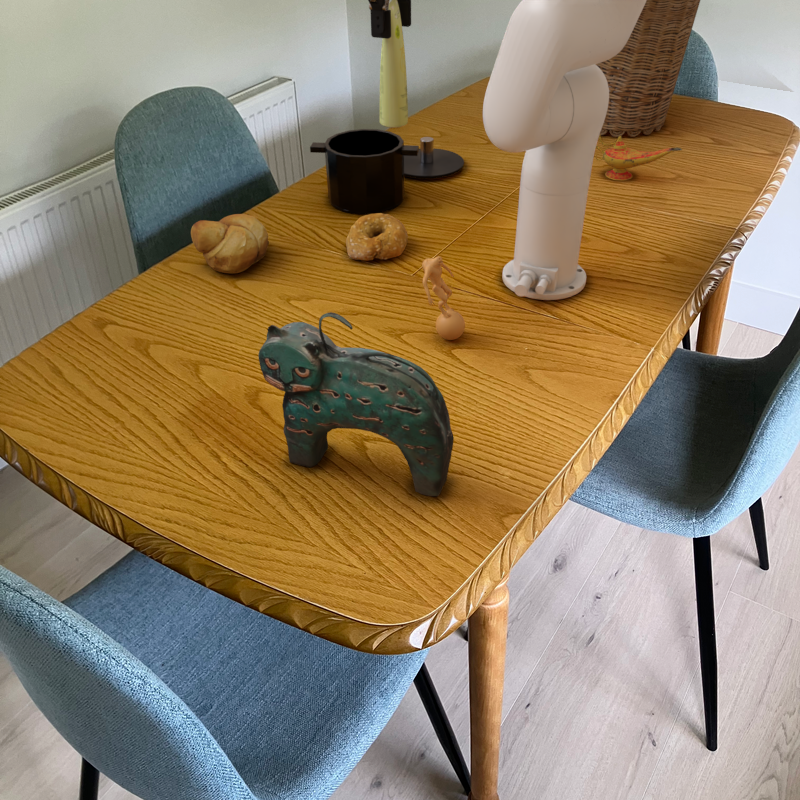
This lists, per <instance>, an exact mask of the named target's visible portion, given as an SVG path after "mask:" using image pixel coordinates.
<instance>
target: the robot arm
mask: <svg viewBox="0 0 800 800" xmlns="http://www.w3.org/2000/svg"><path fill="white" fill-rule="evenodd" d="M367 1H368V9H369V10H370V11H369V12H370V35H371V37H372V38H376V39H383V38H386V39H389V38H390V37H391V10H388V6H389V3H390V0H367ZM397 1H398V5H399V10H400V16H401V23H402V27H404V28H409V27H411V26H412V0H397ZM646 1H647V0H521V1H520V2H519V3H518V5H517V6H516V7H515V9H514V10H513V12H512V14H511V15H510V17H509V21H508V23H507V25H506V28H505V30H504V31H505V32H504V35H503V37H502V40H501V43H500V46H499V50H498V52H497V56H496V59H495V61H494V65H493V68H492V71H491V74H490V77H489V79H488V80H489V81H488V83H487V87H486V91H485V93H484V98H483V104H482V123H483V128H484V131H485V134H486V136H487V137H488V140H489V141H490V142H491V144H493V146H494V147H496V148H497V149H499V150H500V151H503V152H505V153H523V152H525V153H524V157H523V161H522V165H521V172H520V179H519V180H520V182H519V193H518V205H517V216H516V228H515V229H516V230H515V240H514V241H515V242H514V251H513V252H514V253H513V259H511V260H509V261H508V262H507V263H506V264H505V265H504V266H503V268H502V272H501V273H502V275H501V276H502V277H501V278H502V282H503V284H504V285H505V286H506V287H507V288H508V289H509V290H510V291H512V292H514V295H516V296H518V297H525V298H527V299H528V298H529V299H533V300H539V301H542V300H543V301H556V300H557V301H558V300H564V299H567V298H571V297H573V296H575V295H577V294H579V293H580V292H581V291H582V290H584V288H585V286H586V283H587V273H586V271H585V270H584V268H583V267H582V266H581V265H580V264H579V259H580V252H581V251H580V250H581V243H582V238H583V237H582V236H583V229H584V223H585V217H586V209H587V202H588V196H589V195H588V194H589V189H590V183H591V177H592V169H593V163H594V159H595V153H596V149H597V148H596V145H597V146H598V141H599V135H600V132H601V130H603V129H602V126H603V123H604V120H605V117H606V113H607V109H608V103H609V88H608V83H607V80H606V77H605V75H604V73H603V72H602V71H601V69H600V68H599V67H598V66H597V65H595V64H598V63H601V62H604V61H606V60H609V59H611V58H612V57H614V56H615V55H617V54H618V53H619V52H620V51H621V50H622V49H623V48H624V46H625V44H626V43H627V41H628V39H629V37H630V35H631V33H632V31H633V29H634V27H635V24H636V22H637V20H638V18H639V16H640V14H641V12H642V9H643V7H644V5H645V3H646Z"/></svg>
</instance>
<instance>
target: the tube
mask: <svg viewBox="0 0 800 800" xmlns="http://www.w3.org/2000/svg"><path fill="white" fill-rule="evenodd" d="M388 10H391V37H390V38H389V39H386V38H381V39H382V41H381V50H380V65H379V66H380V67H379V110H378V111H379V112H378V113H379V124H380V125H381V126H383V127H386V128H391V129H392V128H397V129H398V128H402V127H404V126H406V125H408V123H409V106H408V105H409V102H408V101H409V100H408V78H407V62H406V61H407V60H406V52H405V51H406V50H405V41H404V30H403V26H402V23H401V16H400V10H399V5H398V1H397V0H390V1H389V6H388Z"/></svg>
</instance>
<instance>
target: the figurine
mask: <svg viewBox="0 0 800 800" xmlns="http://www.w3.org/2000/svg"><path fill="white" fill-rule="evenodd" d="M421 267H422V268H421V269H422V270H423V272H424V274H423V278H422V286H423V288H424V292H425V294H426V296H427V300H428V301H427V302H428V304H429V307H433V306H435V304H436V303H434V301H435V299H433V298H432V297H431V292H430V289H429V286H428V280H430V283H431V284H432V288H431V290H432V292H433V293H434V294H435V296H437V297H438V299H440V300H439V301H438V303H437V305H438V309H439V311H440V312H441V313H440V314H439V315H438V317H437V318H436V321H435V329H436V332H437V334H438V335H439V336H440V337H441V338H442V339H444V340H447V341H451V340H453V341H454V340H456V339H458V338H460V337H461V336H462V335H463V333H464V332H465V329H466V322H465V318H464V317H463V315H462V314H461V313H459V311H456V310H455V309H454V308H453V307H450V306H449V304H448V303H447V302H448V300H449V298H450V297H451V296H452V294H453V290H452V289H451V288H450V287H449V286H448V285H447V284H446V282H445V280H444V279H443V277H442V274H443V269H444V270H445V271H446V272H448V273H449V274H450V276H451V277H452V278H455V276H454V273H453V272H452V271H451V269H450V268H449V267H448V266H447V265H446V264H445V263H444V261H443V257H442V256H440V255H438V256H436V257H431V258H429V257H428V258H427V257H426V258H425V259H424V260H422V263H421ZM443 306H444V307H443ZM445 309H446V310H445Z"/></svg>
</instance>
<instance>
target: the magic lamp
mask: <svg viewBox="0 0 800 800" xmlns="http://www.w3.org/2000/svg"><path fill="white" fill-rule="evenodd" d="M598 140H599V142H600V143H601V144H602V145H603V146H604V147H608V148H606V149H605V150H603V149H602V148H600V147H599V146H598V144H597V145H596V149H597V150H598V151H600V152H601V153H602V157H601V158H600V159H599V158H597V156H598V154H596V155H595V159H596V161H602V160H603V161H604V162H605V163H606V164H607V165H608V166H610V167H612V168H613V169H610V170H608V171H606V172H605V174H604V175H605V177H606V178H608V179H609V180H613V181H628V180H631V179H632V178H633V174H632V173H631V172H629V171H628V169H631V168H635V167H640V166H643V165H647V164H650V163H653V162H654V161H655V162H656V161H657V160H660V159H661V158H663V157H665V156H667V155H669V154H671V153H673V152H677V151H678V152H679V151H683V149H682V148H681V147H679V146H678V147H667V148H663V149H659V150H655V151H641V150H638V149H635V148H630V147H627V145H626V143H625V142H624V141H623V136H619V137H617V140H615V141H614V142H611V143H605V142H604V141H603V140H602V136H600V135H599V138H598ZM611 146H612V147H611Z"/></svg>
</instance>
